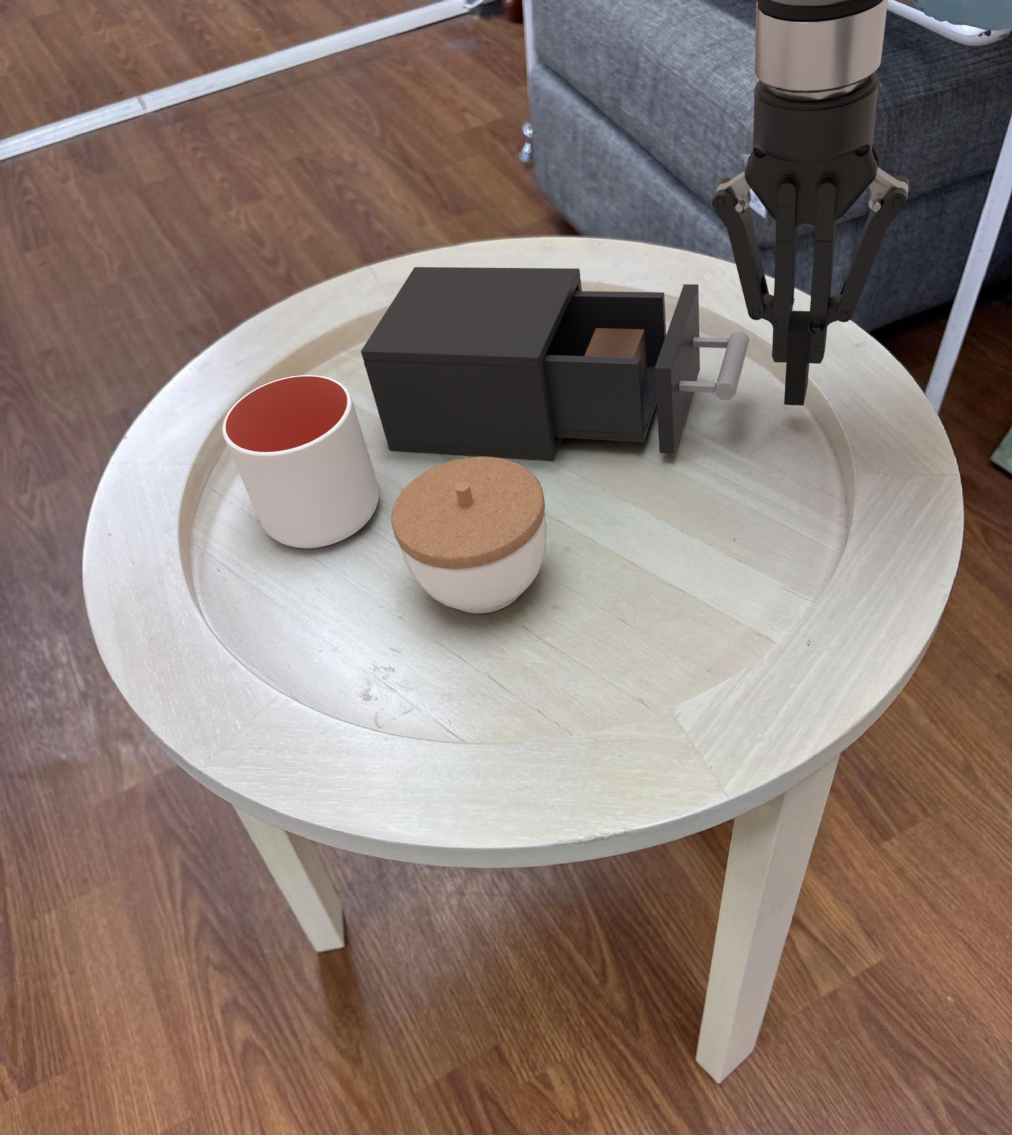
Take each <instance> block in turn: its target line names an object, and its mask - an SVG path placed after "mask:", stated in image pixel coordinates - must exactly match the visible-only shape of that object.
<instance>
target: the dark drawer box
mask: <svg viewBox="0 0 1012 1135" xmlns="http://www.w3.org/2000/svg"><path fill="white" fill-rule="evenodd" d="M582 286H583V285H582V279H581V270H580V268H578V267H577V268H575V267H572V268H570V267H569V268H567V267H565V268H563V267H561V268H560V267H559V268H558V267H466V266H465V267H458V266H457V267H454V266H453V267H452V266H450V267H449V266H448V267H447V266H414V267H413V269H412V271H411V272H410V273H409V275H408V276H407V278H406V280H405V281H404V282H403V284H402V286H401V288H400V289H399V290H398V292H397V294H396V295H395V297H394V298H393V300H392V302H391V303H390V304H389V306H388V308H387V309H386V310H385V312H384V314H383V315H382V317H381V319H380V320H379V322H378V323H377V325H376V326H375V328H374V330H373V331H372V333H371V334H370V336H369V338H368V339H367V341H366V342H365V344H364V345H363V347H362V349H361V350H360V353H361V357H362V360H363V364H364V367H365V371H366V374H367V378H368V381H369V385H370V390H371V392H372V396H373V400H374V403H375V406H376V409H377V413H378V416H379V420H380V423H381V427H382V431H383V433H384V437H385V440H386V444H387V447H388V450H389V451H398V452H411V453H428V454H443V455H457V456H471V457H495V458H502V459H519V460H520V459H521V460H535V461H536V460H537V461H551V462H554V461H555V458H556V456H557V453H558V451H559V448H560V446H561V443H562V441H563V438H560V437H554V435H553V428H552V421H551V414H550V407H549V400H548V394H547V387H546V380H545V373H544V366H543V359H544V357H545V354H546V352H547V350H548V348H549V346H550V344H551V341H552V339H553V337H554V335H555V333H556V330H557V328H558V326H559V324H560V322H561V319H562V317H563V315H564V313H565V311H566V309H567V306H568V304H569V302H570V300H571V298H572V295H573V293H574V291H583V288H582Z"/></svg>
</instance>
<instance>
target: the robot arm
mask: <svg viewBox="0 0 1012 1135" xmlns="http://www.w3.org/2000/svg"><path fill="white" fill-rule="evenodd" d="M888 1H889V0H756V3H755V38H754V39H755V43H754V74H755V76H756V78H757V79H758V81H757V82H756V83H755V86H754V90H753V92H754V93H753V98H754V99H753V126H752V127H753V134H752V138H753V139H752V151H751V153H750V154H749V156H748V158H747V161H746V163H745V164H746V165H745V168H744V170H743V171H742V172H741V173H739V174H737V175H736V176H735V177H733V178H729V177H723V178H722V179H720V180H719V181H718V183H717V186H716V189H715V192H714V194H713V197H712V200H711V206H712V209H713V210H714V211H715V213H716V215H717V216H718V217H719V219H720V220H721V222H722V223H723V224H724V226H725V227H726V231H727V234H728V239H729V242H730V247H731V251H732V254H733V259H734V263H735V266H736V270H737V275H738V278H739V279H738V280H739V283H740V287H741V291H742V295H743V299H744V303H745V308H746V311H747V315H748V317H749V318H750V319H751V320H753V321H760V320H765V321H767V322H769V323H770V324H771V326H772V346H771V358H772V361H773V362H774V363H779V364H780V363H783V364H785V377H784V378H785V379H784V396H783V398H784V399H783V405H784V406H799V407H803V406H805V401H806V397H807V396H806V395H807V390H808V385H809V373H810V364H817V365H819V364H821V363H822V362H823V360H824V357H825V354H826V353H825V352H826V348H827V338H828V336H827V335H828V326H829V325H830V324H832V323H834V322H840V323H848V322H849V321H851V320H852V318H853V317H854V313H855V312H856V308H857V307H858V304H859V301H860V298H861V295H862V293H863V290H864V288H865V286H866V283H867V281H868V278H869V276H870V273H871V271H872V268H873V265H874V262H875V260H876V258H877V255H878V252H879V250H880V247H881V245H882V242H883V240H884V237H885V235H886V231H887V229H888V227H889V226H890V225H891V224H892V223H893V222H894V220H895V219H896V218H897V217H898V216H899V215H900V213H902V211H903V210H904V209H905V207H907V206H906V205H907V202H908V198H909V197H908V196H909V190H910V189H909V187H910V181H909V179H908V177H907V176H905V175H897V176H892V175H891V174H890V173H888V172H886V171H885V170H883V169H882V168H880V167H879V164H880V160H879V155H878V153H877V150H876V149H875V146H874V135H875V125H876V117H877V116H876V115H877V107H878V105H877V104H878V96H879V87H880V86H879V85H880V77H879V75H878V73H877V72H876V71H877V70H878V68H880V67H881V65H882V64H881V63H882V57H883V49H884V38H885V31H886V30H885V28H886V22H887V11H888ZM894 1H895V2H897V3H900V4H902V5H904V6H906V7H909V8H912V9H913V10H917V11H919V12H921V13H923V14H924V15H925V16H927V17H929V18H932V19H934V20H935V21H938V22H940V23H942V22H947V23H949V24H951V25H953V26H967V27H971V28H976V29H980V30H984V31H992V32H993V31H994V32H996V31H997V32H998V31H1004V30H1009V29H1012V0H894ZM867 189H869V191H870V193H869V196H868V202H867V205H868V208H869V209H870V211H869V213H868V217H867V218H866V221H865V224H864V227H863V230H862V231H861V235H860V237H859V240H858V243H857V246H856V248H855V251H854V254H853V256H852V259H851V262H850V264H849V268H848V270H847V273H846V275H845V278H844V281H843V283H842V286H841V289H840V291H839V294H837V295H834V296H831V295H832V294H831V293H832V283H833V272H834V271H833V269H834V258H835V248H836V247H835V245H836V233H837V223H838V220H840V219H842V218H843V217H844V216H845V214H846V213H847V212H848V211H849V210H850V209H851V207H853V205H854V204H855V203H856V202H857V201H858V199H859V198H860V197H861V196H862V195H863V194H864V192H865V191H866V190H867ZM751 191H752V193H754V195H755V196H756V197H757V199H758V200H759V202H760V204H761V205H762V206H763V207H764V208H765V210H766V211H767V213H768V214H769V216H770V217H771V218H772V219H773V220H775V261H774V262H775V263H774V281H773V282H774V283H773V284H774V285H773V294H771V293H770V291H769V287H768V282H767V279H766V274H765V270H764V266H763V265H764V264H763V261H762V256H761V251H760V247H759V244H758V240H757V239H758V238H757V234H756V230H755V225H754V221H753V217H752V212H751V210H750V204H751V201H752V194H751ZM801 225H810V226H813V227H814V233H813V234H814V236H813V242H814V244H813V257H812V274H811V286H810V287H811V288H810V302H809V303H810V304H809V310H793V308H794V303H795V300H796V298H795V289H796V288H795V286H796V285H795V284H796V271H797V254H798V239H799V226H801Z"/></svg>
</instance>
